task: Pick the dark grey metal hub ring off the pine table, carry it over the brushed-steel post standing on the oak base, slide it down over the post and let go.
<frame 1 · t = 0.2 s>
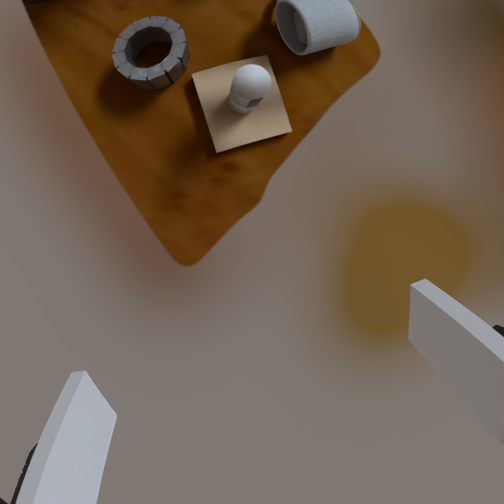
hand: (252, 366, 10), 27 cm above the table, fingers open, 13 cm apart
shaft stand: (241, 103, 32), on the table
ceramic mug: (302, 24, 29), on the table
hub: (156, 59, 29), on the table
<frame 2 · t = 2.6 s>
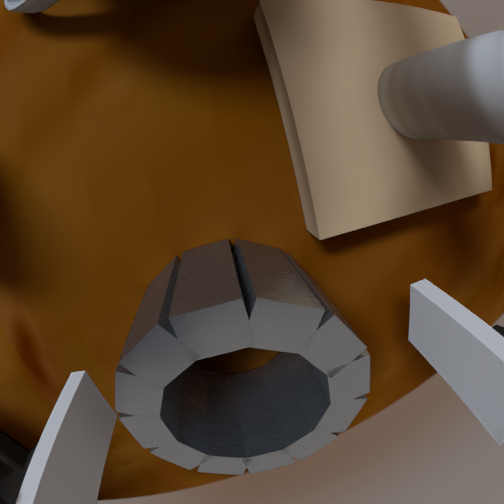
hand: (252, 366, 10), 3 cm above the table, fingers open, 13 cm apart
shaft stand: (390, 103, 11), on the table
hub: (233, 329, 13), on the table
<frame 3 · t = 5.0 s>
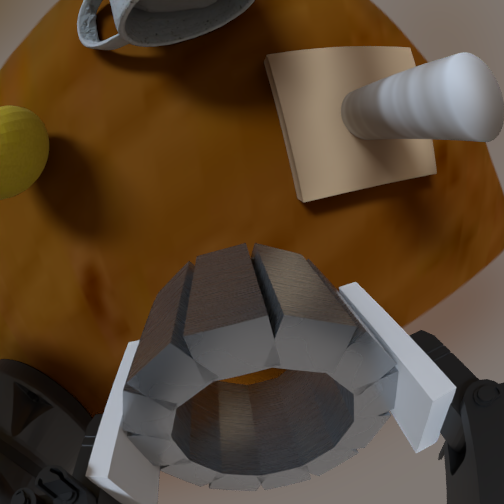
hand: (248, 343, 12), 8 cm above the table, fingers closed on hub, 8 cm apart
lemon: (40, 149, 16), on the table
shaft stand: (355, 116, 17), on the table
ceramic mug: (161, 6, 14), on the table
hub: (248, 339, 12), point 8 cm above the table, touching gripper
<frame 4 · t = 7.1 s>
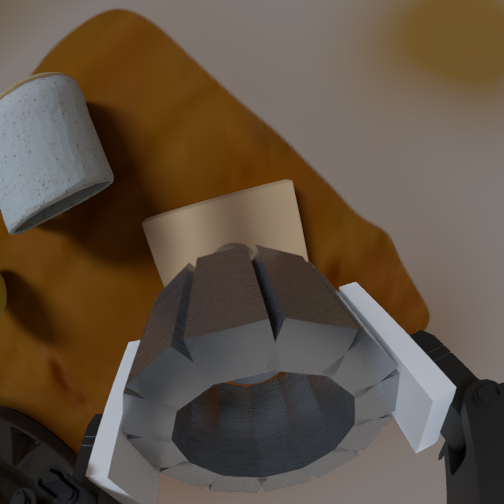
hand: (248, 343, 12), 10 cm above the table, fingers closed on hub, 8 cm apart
lemon: (1, 277, 20), on the table
shaft stand: (232, 258, 21), on the table
ceramic mug: (56, 162, 18), on the table
hub: (248, 340, 12), point 10 cm above the table, touching gripper
when the fingers open (4 cm above the table, at t = 9.6 s): hub drops 2 cm, resting on shaft stand.
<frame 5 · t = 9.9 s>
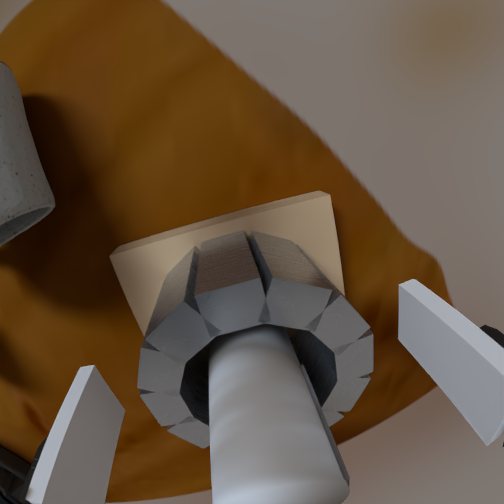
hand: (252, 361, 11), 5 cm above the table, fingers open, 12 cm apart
shaft stand: (240, 300, 15), on the table
hub: (245, 315, 14), point 1 cm above the table, touching shaft stand
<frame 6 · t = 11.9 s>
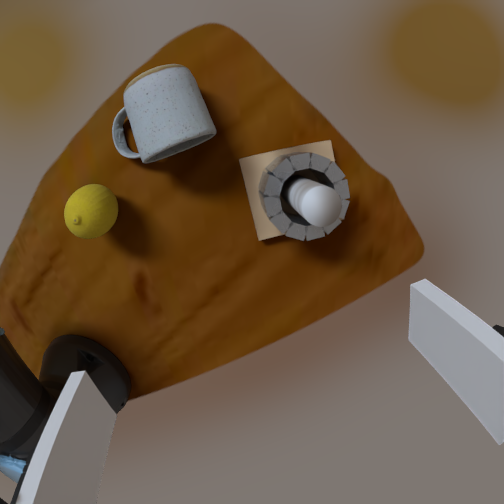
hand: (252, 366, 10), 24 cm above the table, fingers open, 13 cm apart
lemon: (106, 203, 31), on the table
shaft stand: (292, 188, 33), on the table
ceramic mug: (163, 124, 29), on the table
hub: (296, 190, 31), point 1 cm above the table, touching shaft stand
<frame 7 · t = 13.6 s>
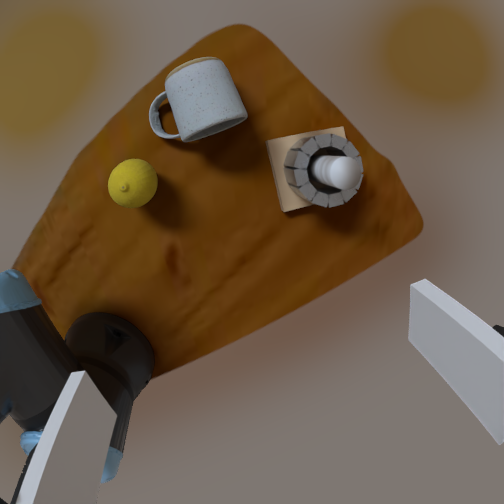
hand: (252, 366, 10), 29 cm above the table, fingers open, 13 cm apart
lemon: (142, 180, 35), on the table
shaft stand: (310, 167, 37), on the table
ceramic mug: (195, 110, 33), on the table
hub: (315, 168, 35), point 1 cm above the table, touching shaft stand
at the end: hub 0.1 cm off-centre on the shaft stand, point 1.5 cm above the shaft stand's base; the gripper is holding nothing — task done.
